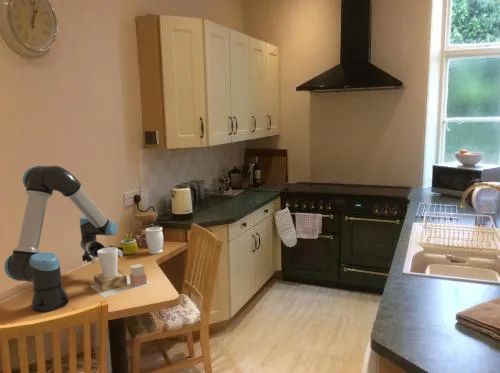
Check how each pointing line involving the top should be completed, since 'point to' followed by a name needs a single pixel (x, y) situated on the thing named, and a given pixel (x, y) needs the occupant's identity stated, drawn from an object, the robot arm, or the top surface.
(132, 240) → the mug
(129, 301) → the top surface
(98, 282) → the oak plinth
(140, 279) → the terracotta tower
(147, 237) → the jar
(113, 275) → the foam cup
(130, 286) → the white board
